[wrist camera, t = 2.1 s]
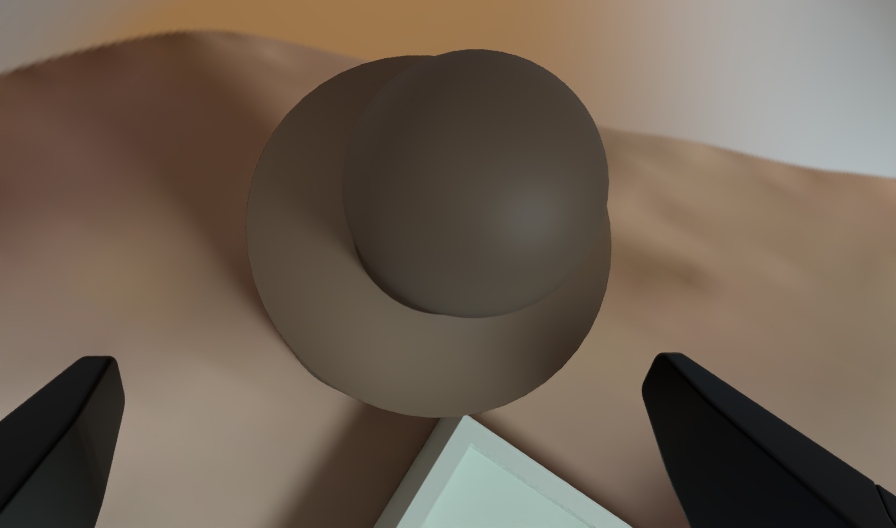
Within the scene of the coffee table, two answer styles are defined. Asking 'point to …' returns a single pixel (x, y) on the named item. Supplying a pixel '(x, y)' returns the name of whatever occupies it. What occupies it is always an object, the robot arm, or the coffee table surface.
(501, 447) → the dish
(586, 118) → the pepper mill
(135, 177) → the coffee table surface
